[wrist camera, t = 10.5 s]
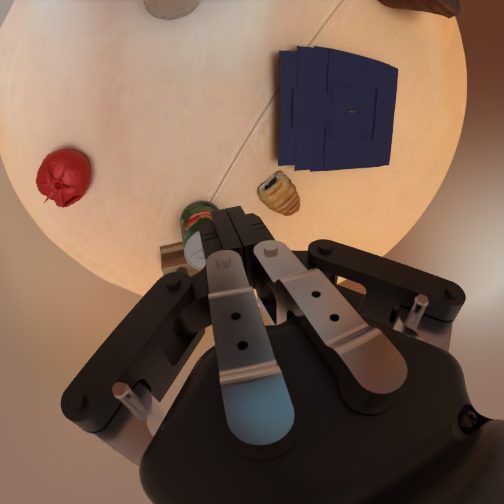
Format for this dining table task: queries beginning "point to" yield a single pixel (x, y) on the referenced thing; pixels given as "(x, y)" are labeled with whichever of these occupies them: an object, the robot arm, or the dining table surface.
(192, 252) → the canned tomato
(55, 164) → the pomegranate
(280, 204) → the pastry
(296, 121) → the navy folded cloth
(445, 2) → the case
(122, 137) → the dining table surface
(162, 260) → the bench stop
